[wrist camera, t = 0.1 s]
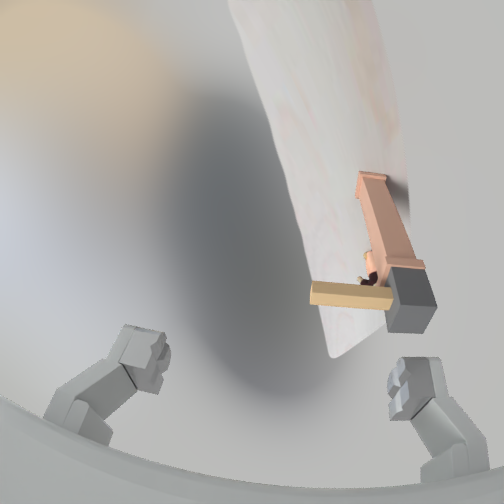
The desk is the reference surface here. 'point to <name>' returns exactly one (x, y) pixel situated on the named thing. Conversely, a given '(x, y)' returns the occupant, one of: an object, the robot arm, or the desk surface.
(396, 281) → the mallet
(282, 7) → the desk surface
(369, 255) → the grandmother figurine
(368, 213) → the stand
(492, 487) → the robot arm
